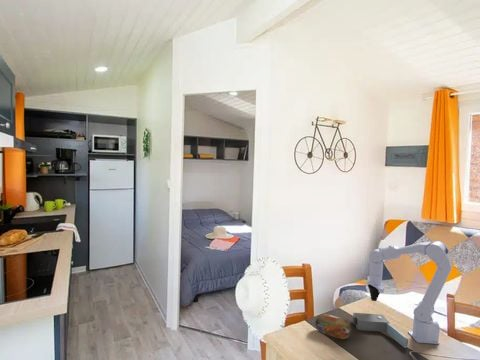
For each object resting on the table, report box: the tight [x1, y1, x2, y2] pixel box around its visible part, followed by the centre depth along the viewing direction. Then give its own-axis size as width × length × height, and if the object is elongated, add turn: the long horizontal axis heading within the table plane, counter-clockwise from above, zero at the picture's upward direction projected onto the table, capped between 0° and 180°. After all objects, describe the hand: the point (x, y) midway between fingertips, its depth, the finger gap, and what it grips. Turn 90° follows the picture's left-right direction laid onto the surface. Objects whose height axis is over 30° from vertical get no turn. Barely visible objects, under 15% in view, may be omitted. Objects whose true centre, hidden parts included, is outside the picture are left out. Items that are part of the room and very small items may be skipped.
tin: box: [315, 313, 352, 340], centre depth 128 cm, size 15×3×8 cm, turn 62°
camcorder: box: [351, 312, 391, 333], centre depth 136 cm, size 15×7×5 cm, turn 88°
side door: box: [385, 322, 409, 349], centre depth 127 cm, size 11×1×4 cm, turn 12°
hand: (373, 300), depth 143 cm, fingers closed
